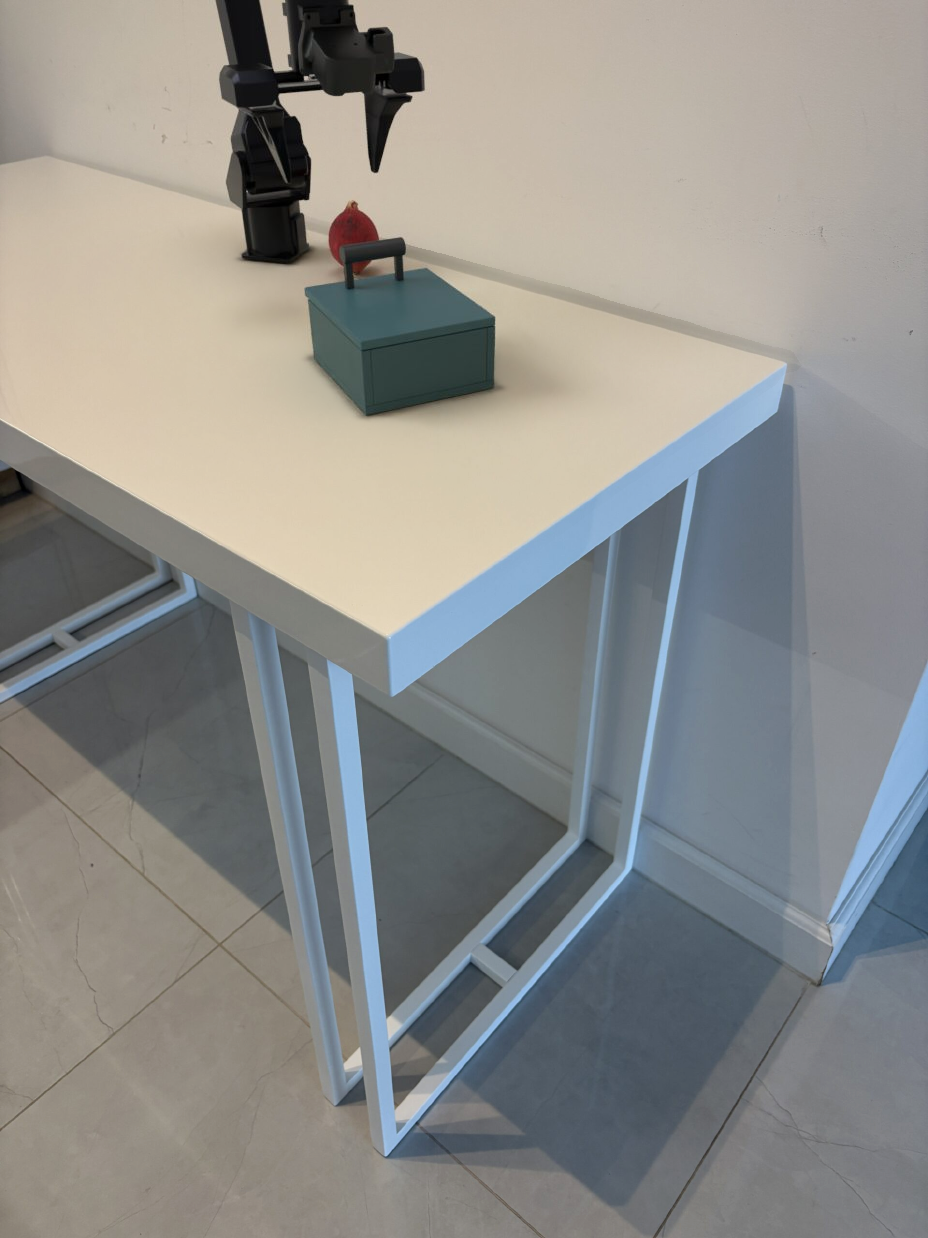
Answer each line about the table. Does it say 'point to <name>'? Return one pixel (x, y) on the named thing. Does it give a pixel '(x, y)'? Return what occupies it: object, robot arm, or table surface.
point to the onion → (351, 232)
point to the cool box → (404, 365)
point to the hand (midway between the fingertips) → (332, 177)
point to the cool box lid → (394, 300)
